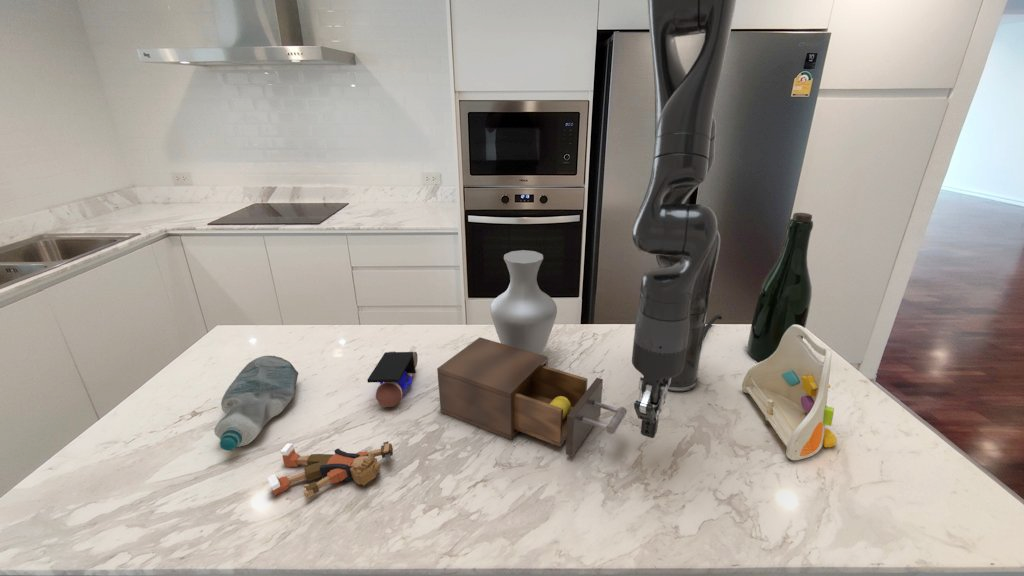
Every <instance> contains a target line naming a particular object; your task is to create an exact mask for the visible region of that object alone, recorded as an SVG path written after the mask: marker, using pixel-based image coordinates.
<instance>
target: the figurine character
mask: <svg viewBox="0 0 1024 576" xmlns="http://www.w3.org/2000/svg"><path fill="white" fill-rule="evenodd" d="M418 359H419V357H418V353H417V351H386V352H384V353H383V355H382V356H381V358H380V359H379V361H378V363H377V364H376V365H375V367H374V369H373V370H372V371H371V373H370V374H369V376H368V377H367V380H366V381H367V383H379V384H380V385H379V386H378V387H377V389H376V391H375V399H376V402H377V403H378V404H379V405H380V406H382V407H383V408H393V407H395V406H396V405H398V404H399V403H400V402H401V400H402V398H403V391H405V390H407V387H409V386H410V385H411V384H412V383H413V376H414V375H413V374H416V368H417V366H418V362H419V361H418Z"/></svg>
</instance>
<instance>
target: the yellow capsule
mask: <svg viewBox="0 0 1024 576" xmlns="http://www.w3.org/2000/svg"><path fill="white" fill-rule="evenodd" d="M550 405H553V406H556V407H559V408H562V409H563V420H564V418H565V417H566V416H567V415H568V413H569V412H570V410H571V404H570V401H569V400H568V399H567V398H566V397H563V396H558V397H556V398H554V399H553V401H552V402H551V403H550Z"/></svg>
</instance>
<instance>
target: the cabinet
mask: <svg viewBox="0 0 1024 576" xmlns="http://www.w3.org/2000/svg"><path fill="white" fill-rule="evenodd" d="M543 365H544V366H547V367H549V357H548V356H546V355H543V354H542V355H540V354H536V353H533V352H529V351H526V350H522V349H519V348H515V347H512V346H508V345H505V344H501V342H498V341H494V340H491V339H487V338H483V337H480V336H479V337H478V338H476V339H475V340H474V341H473V342H471V343H470V344H468V345H467V346H465V347H464V348H463V349H462V350H460V351H459V352H457V353H456V354H455V355H453V356H452V357H450V358H449V359H448V360H447V361H445V362H444V363H442V364H441V365H439V366H438V367H437V368H436V371H437V382H438V383H437V384H438V395H439V404H440V405H439V408H440V413H443V414H445V415H447V416H450V417H452V418H455V419H457V420H460V421H462V422H465V423H467V424H470V425H472V426H475V427H477V428H480V429H482V430H484V431H488V432H490V433H493V434H495V435H497V436H500V437H502V438H505V439H507V440H510V441H512V440H513V439H514V438H515V437H516V435H517V434H518V433H519V432H520V431H518V430H515V429H514V422H513V395H514V394H515V393H516V392H517V391H518V390H519V389H520V388H521V387H522V386H523V385H524V384H525V383H526V382H527V381H528V380H529V379H530V378H531V377H532V376H533V375H534V374H535V373H536V372H537V371H538V370H539V369H540V368H541V367H542V366H543Z"/></svg>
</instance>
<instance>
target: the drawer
mask: <svg viewBox="0 0 1024 576" xmlns="http://www.w3.org/2000/svg"><path fill="white" fill-rule="evenodd" d="M588 380H589V379H588V378H587V377H584V376H580V375H577V374H574V373H570V372H567V371H564V370H560V369H556V368H554V367H551V366H548V367H547V366H544V365H543V366H542V367H541V368H540V369H539V370H538V371H537V372H536V373H535V374H534V375H533V376H532V377H531V378H530V379H529V380H528V381H527V382H526V383H525V384H524V385H523V386H522V387H521V388H520V389H519V390H518V391H517V392H516V393H515V394H514V395H513V422H514V429H515V430H518V431H519V432H520V433H522V434H526V435H528V436H531V437H532V438H533V437H534V438H536V439H538V440H541V441H544V442H547V443H549V444H551V445H554V446H557V447H559V448H560V447H561V446H562V445H563V444H564V442H565V455H567V456H569V457H571V458H572V457H573V456H574V455H575V454H576V452H577V451H578V449H579V447H580V446H581V445H582V443H583V442H584V440H585V439H586V437H587V436H588V434H589V432H590V431H591V430H592V428H593V427H598V428H600V429H603V430H605V431H606V432H607V434H609V435H614V434H616V432H617V430H618V428H619V427H620V425H621V424H622V421H624V418H625V417H626V415H627V413H628V410H627V409H626V407H624V406H620V407H614V406H611V405H608V404H605V403H602V398H603V383H604V382H603V381H604V379H603V378H599V377H596V378H595V379H594V381H593V382H592V383H591V384H590V386H589V387H588ZM558 396H563V397H566V398H567V399H568V400H569V401H570V404H571V410H570V412H569V413H568V415H567V416H566V417H565V418H564V420H563V409H562V408H559V407H556V406H553V405H550V403H551V402H552V401H553V399H554V398H556V397H558ZM601 409H603V410H607V411H609V412H612V413H615V414H614V415H613V416H612V418H611V419H610V421H609V423H608V424H606V423H604V422H601V421H598V419H599V418H600V416H601V411H602V410H601Z"/></svg>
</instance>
